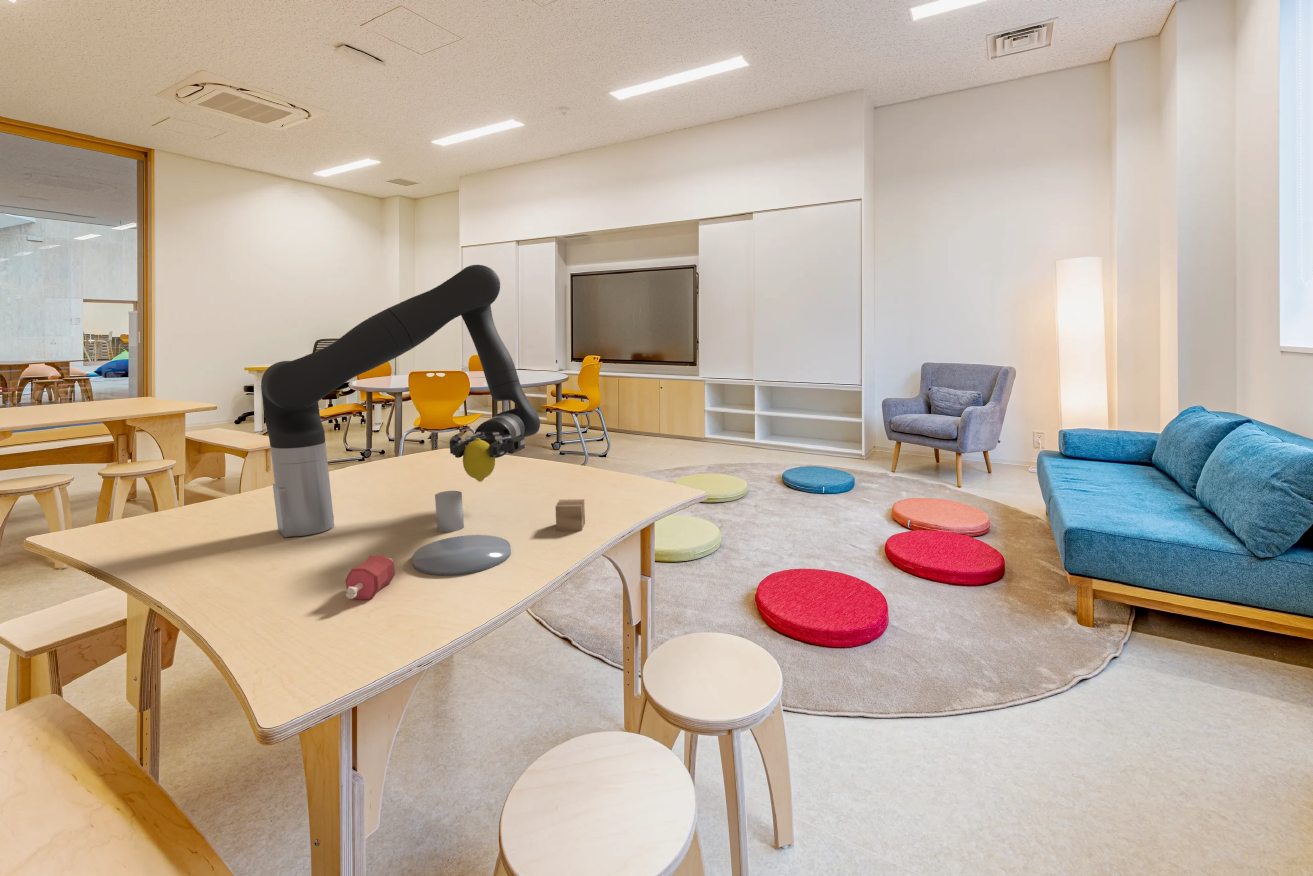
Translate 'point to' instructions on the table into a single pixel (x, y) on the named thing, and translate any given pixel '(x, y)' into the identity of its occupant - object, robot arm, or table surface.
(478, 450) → the lemon
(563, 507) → the walnut block
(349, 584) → the meat
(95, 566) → the table surface
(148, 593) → the table surface
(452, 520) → the grey cylinder
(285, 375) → the robot arm
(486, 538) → the slate dish
